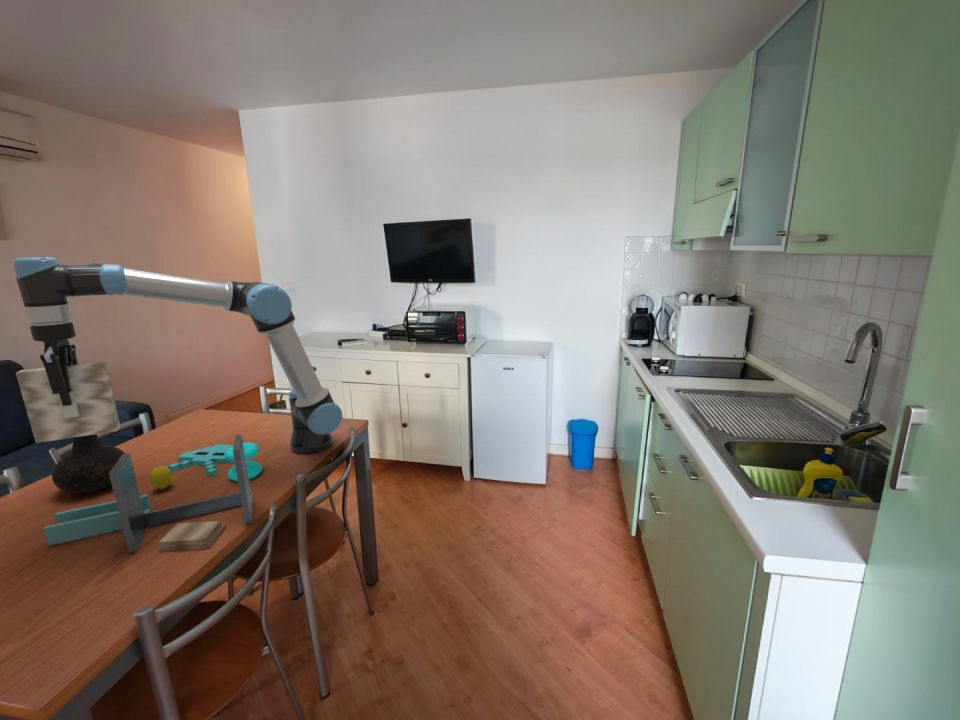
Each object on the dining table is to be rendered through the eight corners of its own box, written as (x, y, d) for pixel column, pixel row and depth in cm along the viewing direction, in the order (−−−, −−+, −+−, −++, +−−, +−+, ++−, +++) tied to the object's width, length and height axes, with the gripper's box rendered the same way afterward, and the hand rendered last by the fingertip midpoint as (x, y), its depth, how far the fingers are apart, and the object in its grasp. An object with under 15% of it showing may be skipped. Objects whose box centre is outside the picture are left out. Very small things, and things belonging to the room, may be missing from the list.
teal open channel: (151, 509, 125) (147, 494, 124) (144, 524, 118) (140, 508, 117) (61, 528, 116) (56, 512, 115) (48, 546, 110) (43, 528, 108)
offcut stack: (226, 529, 116) (224, 519, 115) (210, 550, 108) (208, 539, 107) (180, 531, 115) (178, 522, 115) (159, 553, 107) (157, 542, 106)
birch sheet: (120, 426, 115) (105, 361, 111) (117, 430, 113) (101, 364, 108) (41, 438, 108) (21, 369, 104) (35, 443, 106) (15, 372, 101)
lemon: (178, 485, 137) (174, 463, 135) (161, 494, 132) (156, 471, 130) (166, 483, 139) (161, 460, 137) (148, 491, 134) (143, 468, 132)
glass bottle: (42, 505, 127) (16, 417, 121) (81, 476, 144) (60, 397, 138) (112, 497, 131) (91, 411, 125) (142, 469, 148) (125, 392, 141)
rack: (252, 501, 128) (241, 433, 123) (251, 523, 118) (239, 449, 112) (141, 526, 117) (123, 452, 111) (128, 553, 106) (108, 473, 101)
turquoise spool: (251, 438, 148) (263, 446, 141) (255, 464, 151) (267, 474, 144) (219, 448, 141) (230, 457, 134) (224, 475, 143) (235, 486, 137)
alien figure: (213, 477, 143) (250, 450, 163) (212, 471, 143) (249, 445, 162) (158, 475, 145) (201, 449, 165) (157, 469, 145) (200, 443, 164)
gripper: (45, 319, 109) (68, 407, 115) (13, 329, 95) (40, 428, 101) (83, 317, 112) (104, 402, 118) (57, 326, 98) (82, 422, 104)
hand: (74, 414), depth 109 cm, fingers closed on birch sheet, 3 cm apart
